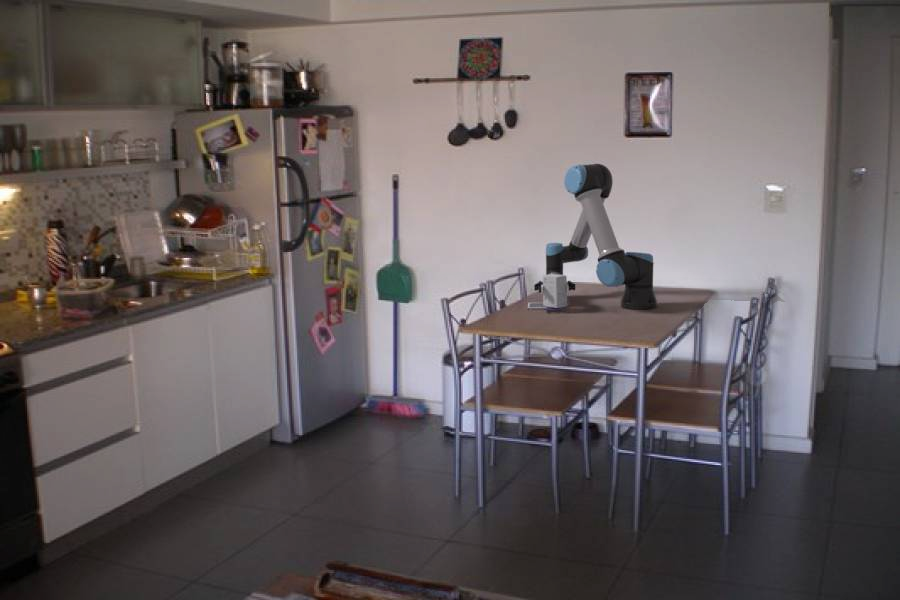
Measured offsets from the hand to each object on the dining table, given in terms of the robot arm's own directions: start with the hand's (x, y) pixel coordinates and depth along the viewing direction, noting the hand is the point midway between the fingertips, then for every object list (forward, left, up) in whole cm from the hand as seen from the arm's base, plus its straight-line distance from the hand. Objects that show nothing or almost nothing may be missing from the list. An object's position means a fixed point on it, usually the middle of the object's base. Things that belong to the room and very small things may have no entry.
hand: (554, 290), depth 403 cm
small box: (0, -4, -8) cm, 9 cm away
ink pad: (0, -4, -10) cm, 11 cm away
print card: (+7, -14, -10) cm, 18 cm away
